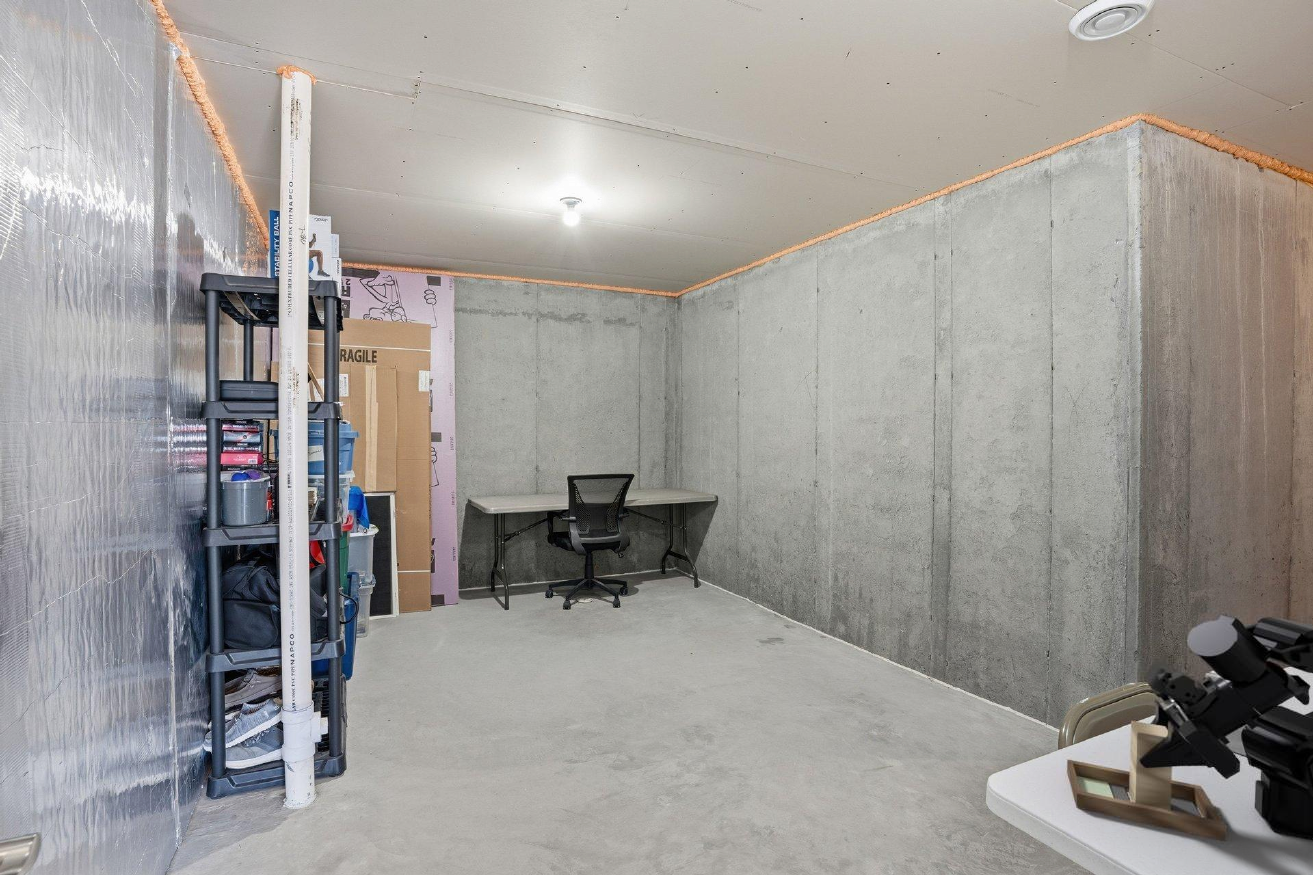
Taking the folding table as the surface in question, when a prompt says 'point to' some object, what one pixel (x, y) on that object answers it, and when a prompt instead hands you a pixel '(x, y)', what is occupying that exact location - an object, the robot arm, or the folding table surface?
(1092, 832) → the folding table surface
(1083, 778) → the pad
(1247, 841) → the folding table surface
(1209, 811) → the brown rectangular frame
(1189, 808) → the pads
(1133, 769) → the maple block
